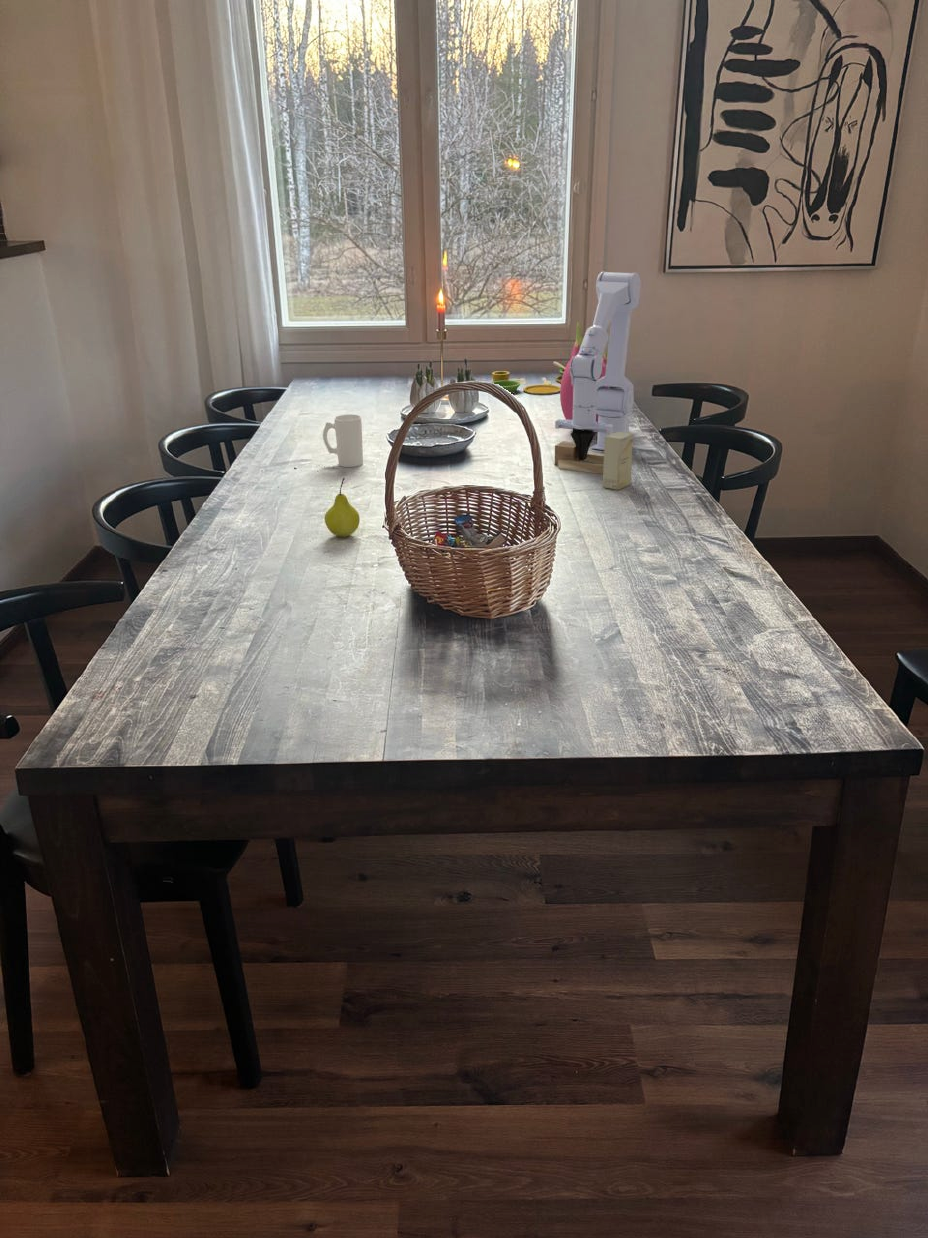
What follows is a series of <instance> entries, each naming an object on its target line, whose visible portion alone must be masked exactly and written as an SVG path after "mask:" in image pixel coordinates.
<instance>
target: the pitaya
mask: <svg viewBox="0 0 928 1238" xmlns="http://www.w3.org/2000/svg"><path fill="white" fill-rule="evenodd" d="M575 336H576V337H575V343H574V345H573V350H572V352H571V357H570V360H569V361H568V362H567V364H566V366H565V371H564V373H563V376H562V375H561V376H562V381H561V383H560V386H559V387H560V392H559V397H560V398H559V400H560V401H559V402H560V405H561V410H562V411H561V412H562V414H563V417H564V420H573V387H574V386H572V384H571V381H572V380H571V375H570V365H571V361H572V358H573V357H574V356H577V354H578V353H579V350H580V347H581V344H582V341H583V338H584V336H583V334H582V331H581V322H580V321H578V322H577V323H576V335H575ZM607 356H608V352H607V351H604V353H603V356H602V357H603V364H602V372H601V375H600V377H599V379H601V378H602V377H604V376H605V374H606V365H607ZM599 379H598V380H599ZM598 380H597V381H598ZM605 388H611V386H606V387H605ZM596 422H598V414H596Z"/></svg>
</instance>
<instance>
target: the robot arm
mask: <svg viewBox="0 0 928 1238" xmlns="http://www.w3.org/2000/svg"><path fill="white" fill-rule="evenodd" d="M595 283H596V284H595V291H596V296H597V300H598V303H597V306H596V310H595V314H594V318H593V323H592V325H591V326H590V327H588V328H587V329H586V330H585V333H584V336H583V337H584V338H583V341H582V344H581V347H580V350H579V353H578V354H577V356H574V357H573V358H572V361H571V365H570V375H571V380H572V381H571V384H572V386H574V387H573V420H566V419H561V418H558V419H556V420H555V422H554V429H558V430H560V429H564V430H565V429H566V430H572V432H570V436H571V439H572V440H573V442H575V445H576V448H577V451H578V456H579V460H585V459H586V458H587V453H589V449H590V447H591V449H593V450H601V451H604V445H605V436H607V435H610V434H612V433H615V432H617V431H619V432H625V433H630V432H629V431H630V418H629V416H628V415H629V414H630V413H631V412H632V411H633V407H634V402H635V394H634V391H635V390H634V389H635V387H634V384H633V382H631V381H630V380H629V379H628V378H627V377H626V376H625V375H626V374H625V373H626V364H627V356H628V355H627V354H628V345H629V338H630V329H631V320H632V314H633V310H634V309H637V308H638V307H639V303H640V297H641V287H642V282H641V277H640V275H639V274H638V273H637V272H612V271H610V272H608V271H600V273H599V274H598V275H597V279H596V281H595ZM609 325H610V329H609V331H610V332H609V334H608V332H607V330H608V328H609ZM607 344H608V349H607V350H608V351H607V364H606V374H605V376H604V377H602V378H601V379H599V377H600V375H601V372H602V364H603V357H602V356H603V353H604V352H605V350H606V346H607ZM598 379H599V380H598ZM597 380H598V381H597ZM606 386H610V388H605V387H606ZM612 387H613V388H612ZM596 414H598V422H596ZM596 435H597V437H596V438H597V439H596V440H597V441H596V444H594V445H593V446H591V444H592V441H593V440H594V438H595V436H596Z"/></svg>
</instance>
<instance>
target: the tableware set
mask: <svg viewBox="0 0 928 1238" xmlns="http://www.w3.org/2000/svg"><path fill="white" fill-rule="evenodd" d="M552 364H553V366H556V367H557V368H558V369H559V374H560V375H559V376H557V377H555V381H556V382H557V383H559V384H561V381H562V376H563V373H564V371H565V368H566V366H564V365H563V364H561V363H559V362H558V361H553V363H552ZM491 376H492V380H493V381H491V382H492V383H494V384H499V385H500V386H502V387H503V388H504V389H506V390H508V391H509V392H511V393H512V394H514V393H513V392H515V393H516V391H517V390H518V388H519V387H520V386H521V385H527V384H528V382H526V379H525V378H524V377H523V378H521V377H519V378H520V379H517V378H518V377H517V378H512V379H511V378H510V371H506V370H498V371H493V372H492V373H491ZM516 380H520V381H516ZM541 380H542V382H543V383H544V384H533V385H527V386H525V387H523V389H522V390H523V391H524V393H527V394H529V395H536V396H545V395H546V396H549V395H553V394H554V395H555V394H558V393H560V387H561V386H558V385H555V384H553V385H552V381H550V380H547V378H546V377H541Z"/></svg>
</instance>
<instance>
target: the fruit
mask: <svg viewBox="0 0 928 1238" xmlns="http://www.w3.org/2000/svg"><path fill="white" fill-rule="evenodd" d="M344 481H345V477H343V478H342V481H341V485H340V489H339V493H338V494H337V495H336V496H335V498H334V502H333V504H332V506H330V508H329V509H328V510H327V511H326V513H325V515H324V518H323V519H324V523H325V527H326V529H328V530H329V532H330V533H331V534H333V535H335V536H336V537H338V538H347V537H350V536H351V535H353V534H354V533H355V532H356V530H357V529H358V528H359V527H360V526H359V525H360V520H361V519H360V514H359V512H358V510H357V509H356V508H355V507H353V506H352V505H351V503H350V502H349V500H348V497H347V496H346V495H345V493H344V494H343V493H342V488H343V484H344Z"/></svg>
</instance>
